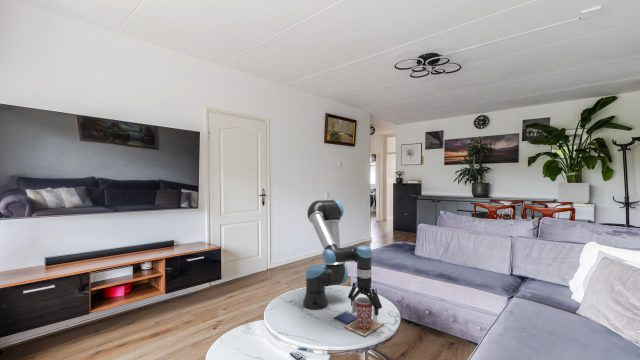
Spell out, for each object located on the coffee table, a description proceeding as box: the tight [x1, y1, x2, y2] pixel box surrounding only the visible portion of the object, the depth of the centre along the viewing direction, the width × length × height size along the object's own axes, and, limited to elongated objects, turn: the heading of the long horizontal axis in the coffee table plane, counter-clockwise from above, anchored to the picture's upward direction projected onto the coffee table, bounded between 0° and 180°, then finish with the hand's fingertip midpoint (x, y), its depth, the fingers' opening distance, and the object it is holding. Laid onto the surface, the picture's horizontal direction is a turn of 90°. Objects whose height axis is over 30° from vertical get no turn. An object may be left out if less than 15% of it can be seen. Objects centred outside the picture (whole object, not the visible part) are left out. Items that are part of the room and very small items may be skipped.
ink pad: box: [333, 311, 357, 326], centre depth 160 cm, size 10×10×1 cm
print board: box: [344, 318, 385, 338], centre depth 151 cm, size 13×17×1 cm
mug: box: [354, 296, 373, 330], centre depth 152 cm, size 13×9×14 cm
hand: (364, 316), depth 151 cm, fingers open, 13 cm apart
